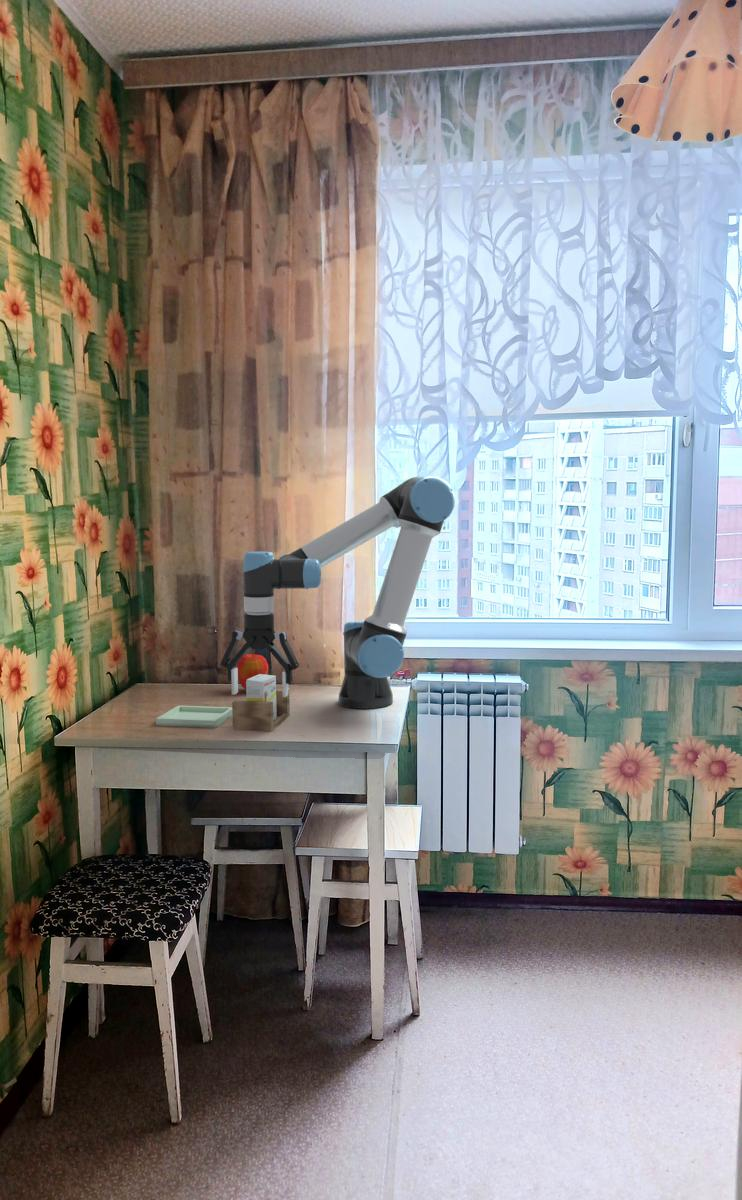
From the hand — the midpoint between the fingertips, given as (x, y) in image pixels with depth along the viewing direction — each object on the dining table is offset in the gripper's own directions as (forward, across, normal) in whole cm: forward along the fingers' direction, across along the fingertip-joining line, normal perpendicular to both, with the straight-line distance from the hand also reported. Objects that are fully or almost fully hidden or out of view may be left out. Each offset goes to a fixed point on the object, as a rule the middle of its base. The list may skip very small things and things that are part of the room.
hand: (260, 694), depth 234 cm
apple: (+7, +14, -34) cm, 38 cm away
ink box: (+8, 0, 0) cm, 8 cm away
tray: (+8, +18, 0) cm, 19 cm away
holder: (+7, 0, 0) cm, 7 cm away
